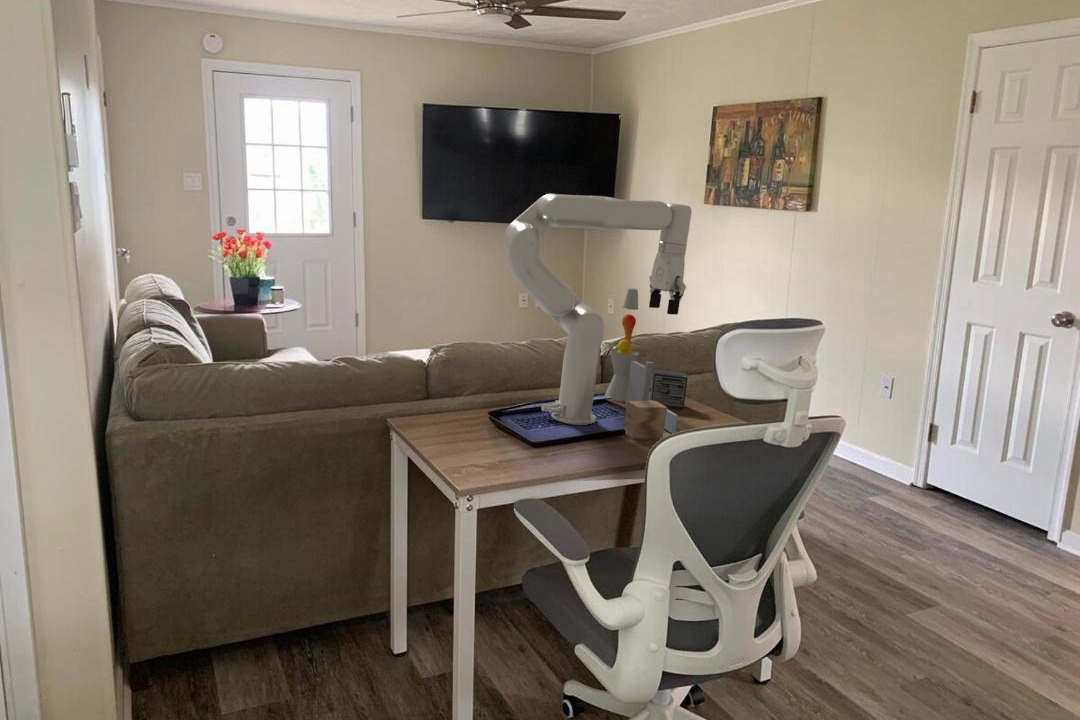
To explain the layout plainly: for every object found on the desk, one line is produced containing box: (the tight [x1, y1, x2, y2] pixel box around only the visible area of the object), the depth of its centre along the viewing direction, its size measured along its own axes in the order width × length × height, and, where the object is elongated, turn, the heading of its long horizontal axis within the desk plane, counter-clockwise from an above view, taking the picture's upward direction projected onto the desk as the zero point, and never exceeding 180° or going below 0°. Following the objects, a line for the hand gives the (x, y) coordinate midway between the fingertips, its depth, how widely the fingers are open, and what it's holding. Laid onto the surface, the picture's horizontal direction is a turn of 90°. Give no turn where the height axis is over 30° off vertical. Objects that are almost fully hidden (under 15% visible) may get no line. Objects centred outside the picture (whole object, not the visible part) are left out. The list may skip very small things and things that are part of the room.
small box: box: [649, 369, 689, 410], centre depth 253 cm, size 11×6×10 cm, turn 84°
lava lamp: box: [604, 287, 640, 402], centre depth 253 cm, size 9×9×35 cm
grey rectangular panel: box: [624, 360, 655, 407], centre depth 243 cm, size 2×10×16 cm, turn 21°
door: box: [648, 399, 679, 434], centre depth 230 cm, size 2×15×5 cm, turn 21°
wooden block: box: [622, 401, 668, 441], centre depth 218 cm, size 9×6×9 cm, turn 111°
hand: (663, 310), depth 226 cm, fingers open, 9 cm apart
